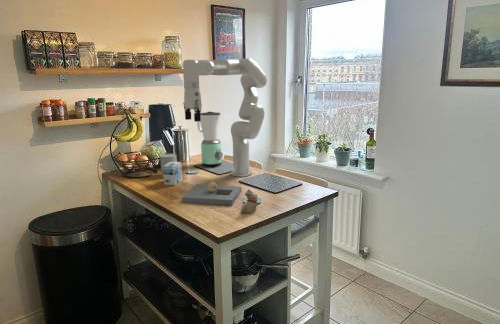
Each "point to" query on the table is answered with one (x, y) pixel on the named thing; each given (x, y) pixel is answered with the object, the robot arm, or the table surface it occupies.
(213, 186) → the ball
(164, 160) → the grey piece
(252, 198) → the chocolate bunny
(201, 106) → the robot arm
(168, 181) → the light bulb box
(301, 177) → the table surface
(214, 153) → the mint green blender
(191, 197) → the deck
